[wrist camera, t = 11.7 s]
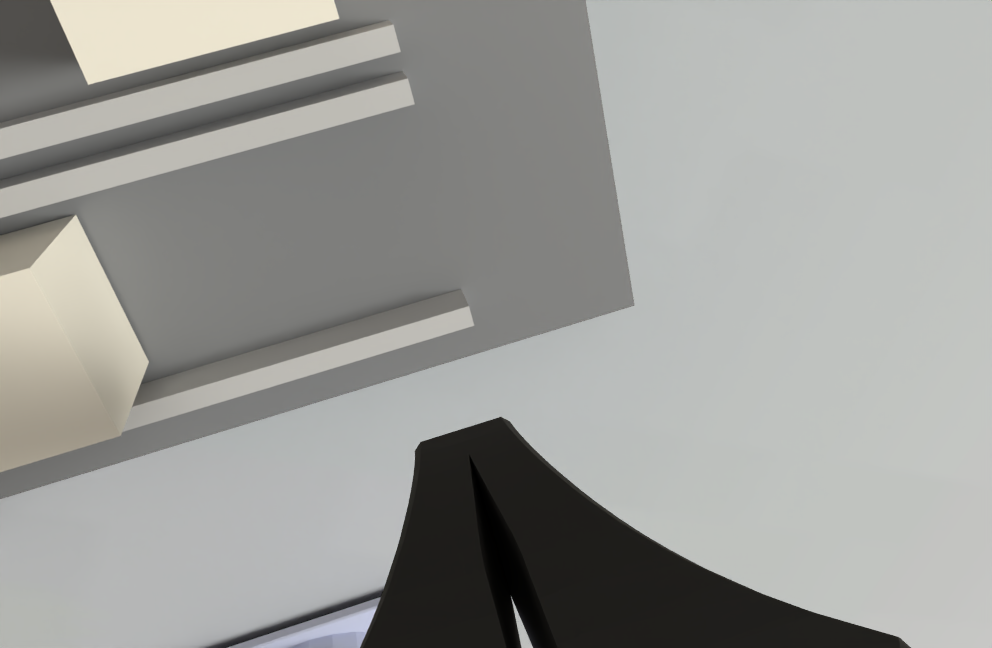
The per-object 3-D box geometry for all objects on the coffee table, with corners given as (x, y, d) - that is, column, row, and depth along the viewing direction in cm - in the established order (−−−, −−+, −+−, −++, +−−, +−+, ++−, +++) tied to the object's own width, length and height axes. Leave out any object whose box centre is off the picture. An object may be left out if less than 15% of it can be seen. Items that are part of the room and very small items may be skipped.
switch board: (607, 275, 21) (649, 322, 19) (-160, 506, 20) (-233, 593, 17) (491, -388, 15) (530, -460, 12) (-658, -133, 13) (-899, -154, 11)
